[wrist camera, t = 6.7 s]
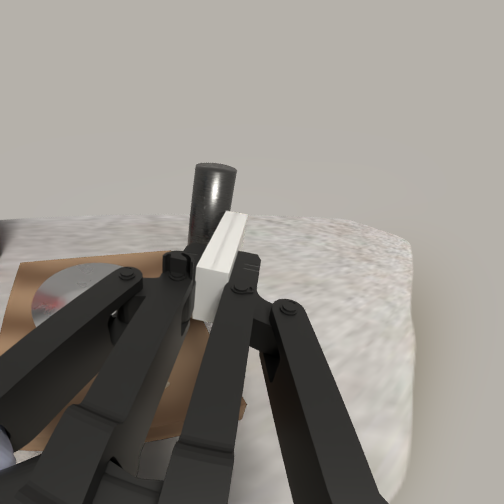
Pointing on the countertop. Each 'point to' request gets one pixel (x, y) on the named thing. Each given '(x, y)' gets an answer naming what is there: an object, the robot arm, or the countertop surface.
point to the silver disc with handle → (86, 275)
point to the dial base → (170, 405)
